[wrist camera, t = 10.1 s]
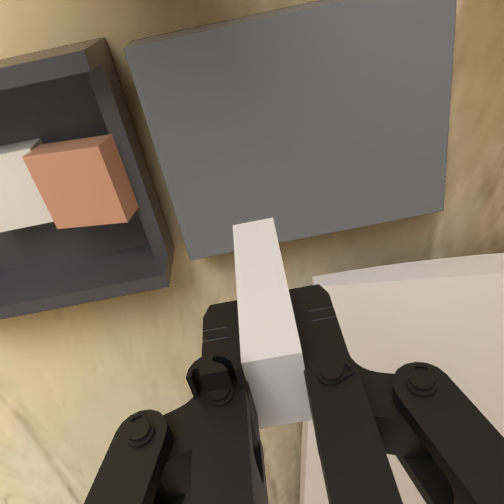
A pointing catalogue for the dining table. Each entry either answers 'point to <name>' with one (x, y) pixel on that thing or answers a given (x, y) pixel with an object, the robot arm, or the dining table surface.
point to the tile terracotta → (82, 182)
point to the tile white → (19, 189)
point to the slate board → (301, 117)
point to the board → (419, 337)
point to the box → (88, 237)
